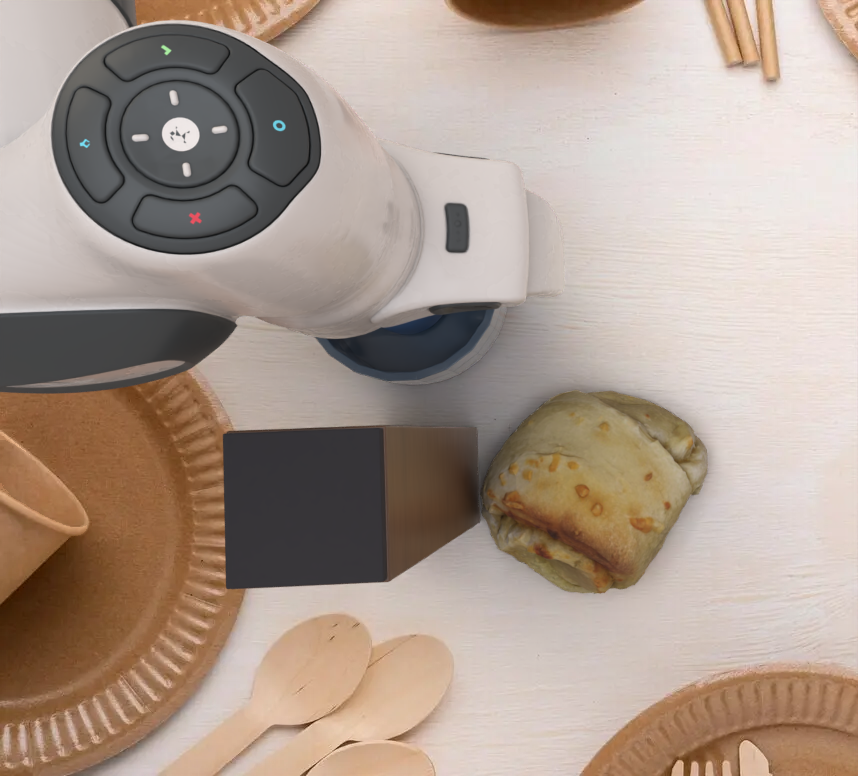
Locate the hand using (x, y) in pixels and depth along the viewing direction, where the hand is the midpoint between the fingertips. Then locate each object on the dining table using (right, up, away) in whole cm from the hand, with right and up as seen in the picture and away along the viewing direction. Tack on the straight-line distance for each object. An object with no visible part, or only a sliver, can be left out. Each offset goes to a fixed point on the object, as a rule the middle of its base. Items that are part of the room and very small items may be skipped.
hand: (391, 281), depth 60 cm
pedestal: (+1, -12, +6) cm, 13 cm away
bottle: (0, 0, +5) cm, 5 cm away
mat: (+2, -11, -20) cm, 23 cm away
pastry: (+11, -12, +7) cm, 18 cm away
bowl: (0, 0, +6) cm, 6 cm away
